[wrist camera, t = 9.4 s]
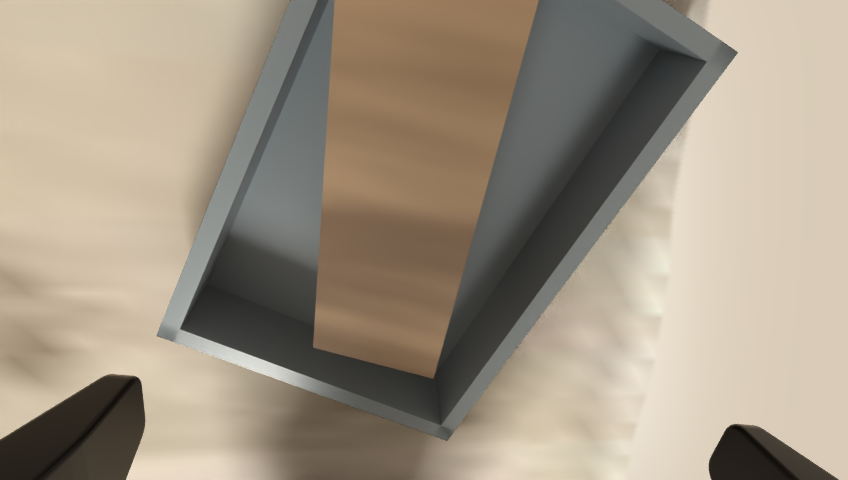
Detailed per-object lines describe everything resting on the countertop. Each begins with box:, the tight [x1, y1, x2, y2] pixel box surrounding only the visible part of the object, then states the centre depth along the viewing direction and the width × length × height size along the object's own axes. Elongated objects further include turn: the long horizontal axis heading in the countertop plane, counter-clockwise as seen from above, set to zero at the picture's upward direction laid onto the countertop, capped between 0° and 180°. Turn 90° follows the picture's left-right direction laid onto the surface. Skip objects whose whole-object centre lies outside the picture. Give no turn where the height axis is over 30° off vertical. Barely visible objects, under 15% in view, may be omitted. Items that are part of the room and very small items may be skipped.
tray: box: [157, 0, 738, 441], centre depth 18 cm, size 16×11×4 cm
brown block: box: [313, 0, 539, 379], centre depth 15 cm, size 4×4×12 cm
